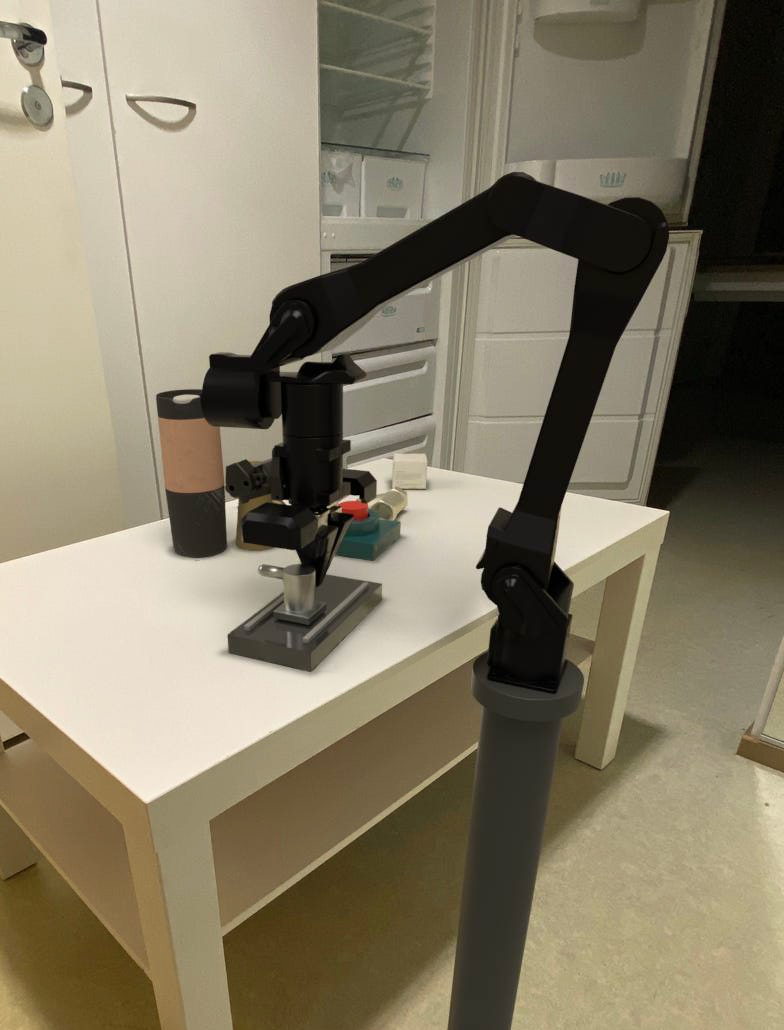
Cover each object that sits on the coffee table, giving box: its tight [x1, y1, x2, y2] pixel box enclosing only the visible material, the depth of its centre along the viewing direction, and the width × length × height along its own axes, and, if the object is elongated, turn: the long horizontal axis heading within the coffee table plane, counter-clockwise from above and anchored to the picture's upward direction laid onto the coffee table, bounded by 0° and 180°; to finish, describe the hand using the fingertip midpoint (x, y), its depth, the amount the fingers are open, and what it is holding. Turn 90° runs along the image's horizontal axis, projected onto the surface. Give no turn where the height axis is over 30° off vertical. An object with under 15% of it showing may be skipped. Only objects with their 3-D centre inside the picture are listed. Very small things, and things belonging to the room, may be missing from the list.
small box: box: [391, 453, 428, 490], centre depth 123 cm, size 6×6×5 cm
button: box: [339, 500, 368, 520], centre depth 96 cm, size 4×4×2 cm
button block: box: [335, 509, 402, 561], centre depth 98 cm, size 10×10×4 cm
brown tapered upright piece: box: [235, 460, 274, 551], centre depth 97 cm, size 6×6×11 cm
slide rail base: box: [226, 573, 383, 672], centre depth 76 cm, size 9×18×2 cm, turn 153°
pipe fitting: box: [355, 486, 409, 521], centre depth 108 cm, size 8×4×7 cm
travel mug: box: [155, 388, 228, 558], centre depth 93 cm, size 8×8×20 cm
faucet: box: [257, 563, 326, 625], centre depth 73 cm, size 7×4×5 cm, turn 63°
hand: (315, 585), depth 75 cm, fingers closed
